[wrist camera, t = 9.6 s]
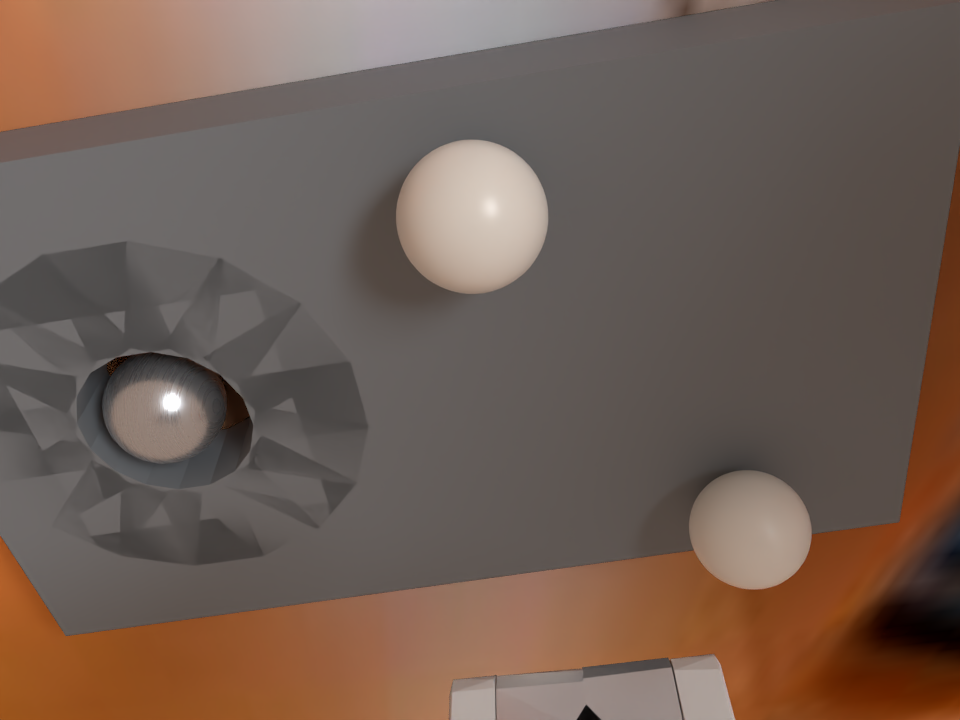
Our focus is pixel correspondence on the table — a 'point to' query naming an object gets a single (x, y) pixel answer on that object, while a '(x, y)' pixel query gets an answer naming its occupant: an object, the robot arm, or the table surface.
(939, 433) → the table surface
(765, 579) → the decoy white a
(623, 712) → the robot arm
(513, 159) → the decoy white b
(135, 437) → the steel ball
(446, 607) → the table surface
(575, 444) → the board
